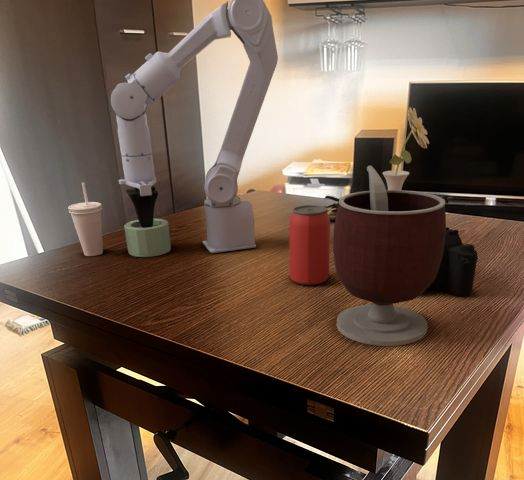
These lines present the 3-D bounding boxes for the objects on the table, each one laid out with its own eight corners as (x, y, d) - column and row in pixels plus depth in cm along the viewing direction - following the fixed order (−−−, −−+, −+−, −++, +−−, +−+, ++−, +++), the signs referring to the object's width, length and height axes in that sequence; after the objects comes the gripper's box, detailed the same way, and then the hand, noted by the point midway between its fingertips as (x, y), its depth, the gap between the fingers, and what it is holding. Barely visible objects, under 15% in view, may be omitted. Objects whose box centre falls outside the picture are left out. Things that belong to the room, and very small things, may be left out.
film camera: (372, 276, 91) (376, 224, 87) (418, 267, 94) (423, 216, 90) (431, 307, 79) (439, 247, 74) (481, 295, 82) (491, 238, 78)
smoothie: (100, 258, 105) (87, 185, 98) (71, 257, 106) (56, 185, 100) (115, 249, 110) (103, 179, 104) (86, 248, 112) (73, 179, 105)
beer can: (302, 289, 87) (303, 215, 81) (282, 277, 92) (281, 207, 86) (336, 281, 89) (338, 209, 84) (315, 270, 94) (316, 202, 89)
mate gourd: (451, 343, 68) (475, 182, 59) (347, 353, 67) (355, 190, 57) (404, 298, 82) (418, 162, 72) (317, 306, 80) (319, 168, 71)
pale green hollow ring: (167, 242, 113) (164, 216, 111) (174, 253, 106) (171, 226, 104) (126, 247, 111) (122, 221, 109) (130, 259, 104) (126, 231, 101)
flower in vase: (396, 255, 100) (409, 111, 89) (350, 244, 108) (356, 109, 96) (435, 241, 108) (451, 106, 96) (389, 231, 116) (399, 105, 104)
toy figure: (306, 229, 120) (365, 218, 124) (303, 200, 118) (364, 190, 122) (294, 225, 127) (351, 215, 130) (292, 198, 124) (349, 189, 128)
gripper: (111, 151, 105) (122, 220, 111) (118, 161, 93) (130, 237, 99) (147, 148, 107) (156, 216, 113) (158, 158, 95) (167, 233, 101)
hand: (146, 226), depth 106 cm, fingers closed
